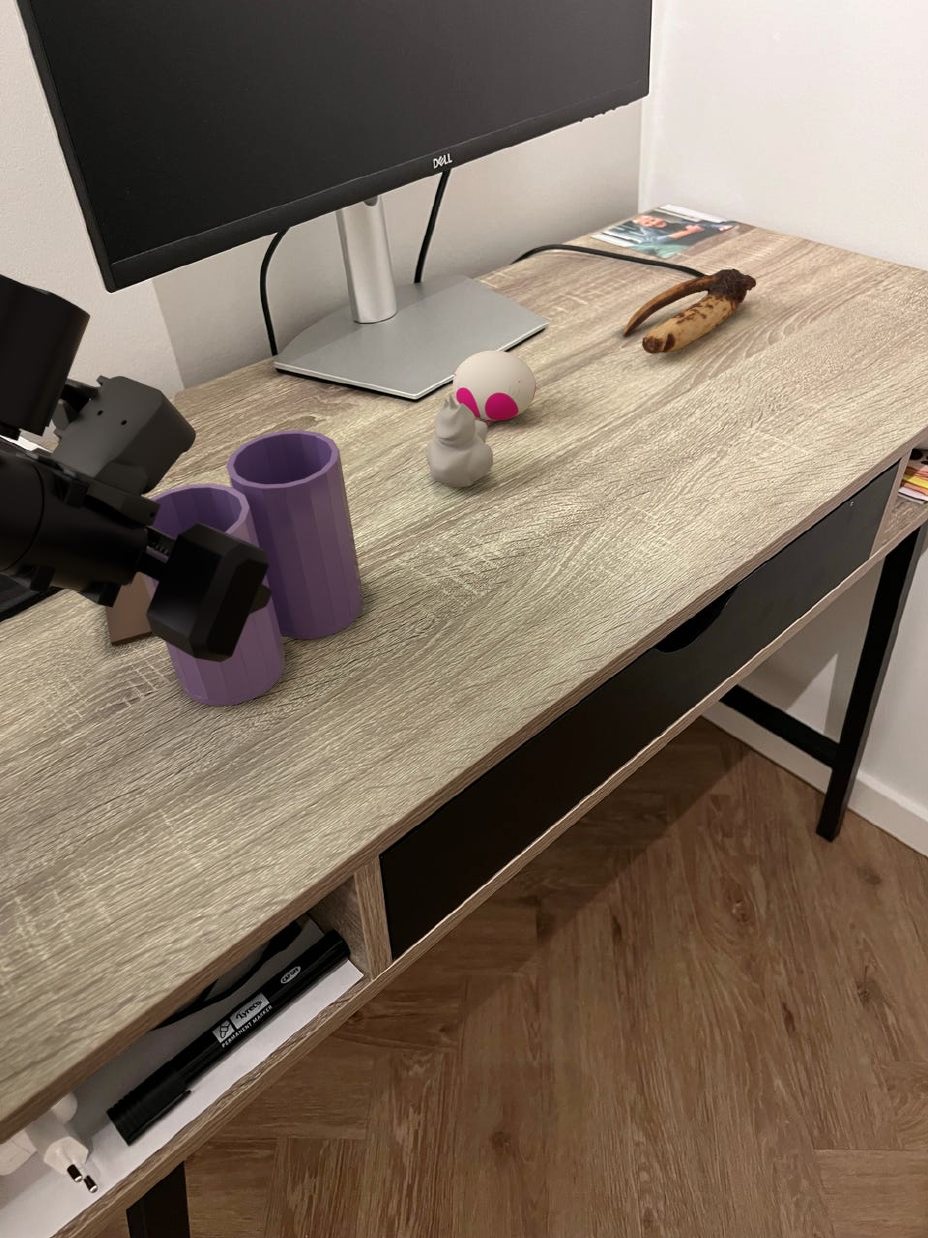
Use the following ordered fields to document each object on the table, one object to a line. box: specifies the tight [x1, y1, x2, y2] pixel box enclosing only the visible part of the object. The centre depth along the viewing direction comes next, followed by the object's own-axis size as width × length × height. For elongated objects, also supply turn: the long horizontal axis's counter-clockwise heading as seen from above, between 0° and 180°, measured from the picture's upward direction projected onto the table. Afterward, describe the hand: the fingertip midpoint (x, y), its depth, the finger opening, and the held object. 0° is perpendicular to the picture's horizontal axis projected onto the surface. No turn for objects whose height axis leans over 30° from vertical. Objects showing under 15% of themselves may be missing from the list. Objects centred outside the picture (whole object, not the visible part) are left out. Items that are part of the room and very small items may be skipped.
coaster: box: [104, 572, 155, 647], centre depth 70 cm, size 8×8×1 cm
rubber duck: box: [425, 393, 494, 488], centre depth 77 cm, size 5×7×8 cm
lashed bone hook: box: [622, 268, 757, 355], centre depth 97 cm, size 9×5×18 cm
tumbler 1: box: [141, 483, 287, 707], centre depth 60 cm, size 7×7×12 cm
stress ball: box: [452, 350, 537, 426], centre depth 86 cm, size 8×8×7 cm
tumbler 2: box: [225, 429, 364, 640], centre depth 64 cm, size 7×7×12 cm
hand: (227, 577), depth 60 cm, fingers closed on tumbler 1, 7 cm apart
